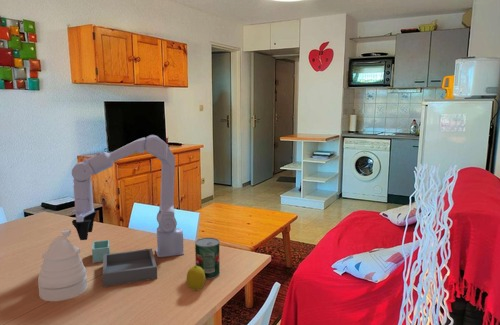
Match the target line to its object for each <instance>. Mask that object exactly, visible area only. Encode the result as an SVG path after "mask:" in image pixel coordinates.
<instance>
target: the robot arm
mask: <svg viewBox="0 0 500 325" xmlns="http://www.w3.org/2000/svg"><path fill="white" fill-rule="evenodd" d="M145 152H147V153H148V154H150V155H152V156H154V157H156V158H157V159H158V160H159V161H160V162H161V168H160V170H161V172H160V175H161V176H160V177H161V178H160V204H159V210H158V213H157V214H156V221H157V224H158V227H157V228H156V244H157V246H156V247H157V248H155V252H156V253H155V254H156V255H157V256H156V258H167V257H173V256H181V255H184V254H185V253H184V251H185V250H184V233H183V229H182V228H181V227H179V228H177V225H178V221H177V220H176V217H175V206H174V205H175V203H174V201H175V199H174V198H175V197H174V196H175V173H176V171H175V169H176V157H175V155H174V153H173V152H172V151H171V149H170V147H169V146H168V144H167V143H166V142H165V141H164V140H163V139H161V138H160V137H159V136H158V135H155V134H150V135H148V136H146V137H145V136H144V137H141V138H138V139H136V140H134V141H132V142H130V143H127V144H126V145H123V146H122V147H120V148H119V147H118V148H117V149H115V150H113V151H112V152H107V151H102V152H101V151H98V152H96V155H94V156H91V157H89V158H84V159H82V161H80V162H77V163H76V164H75V165H74V166H73V167H72V169H71V177H72V178H73V197H74V198H73V199H74V209H73V210H71V214H75V218H76V219H72V221H71V224H72V225H73V227H74V228H75V230H76V232H77V236H78V238H79V240H80V241H87V240H88V236H89V233H92V232H93V228H94V221H95V218H96V215H97V213H98V211H97V210H95V208H94V198H93V197H94V194H93V184H92V178H91V176H92V175H97V174H100V173H101V172H103V171H106V170H108V169H109V168H112V167H113V166H114V162H116V161H118V160H121V159H122V158H123V159H124V158H126V157H127V156H130V155H132V154H134V153H139V154H140V153H141V154H145Z"/></svg>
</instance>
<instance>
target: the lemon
mask: <svg viewBox="0 0 500 325" xmlns="http://www.w3.org/2000/svg"><path fill="white" fill-rule="evenodd" d="M205 283H206V279H205V273H204V270H203V269H202V268H201V267H199V266H197V265H196V264H195V265H193V266H192V267H190V268H189V269H188V271H187V274H186V284H187V286H188V288H189V289H190V290H192V291H194V292H198V291H199V290H201V289H202V288H203V286H204V285H205Z"/></svg>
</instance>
